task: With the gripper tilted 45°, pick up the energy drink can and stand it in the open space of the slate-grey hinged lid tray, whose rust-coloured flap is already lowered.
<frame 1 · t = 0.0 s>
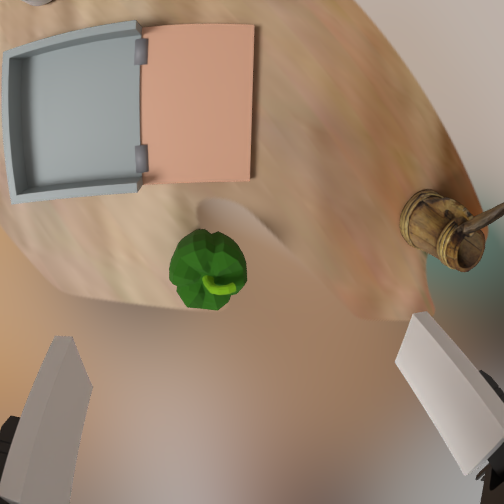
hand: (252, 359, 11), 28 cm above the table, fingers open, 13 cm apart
bell pepper: (206, 250, 40), on the table
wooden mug: (419, 205, 42), on the table
hinged lid tray: (76, 112, 30), on the table
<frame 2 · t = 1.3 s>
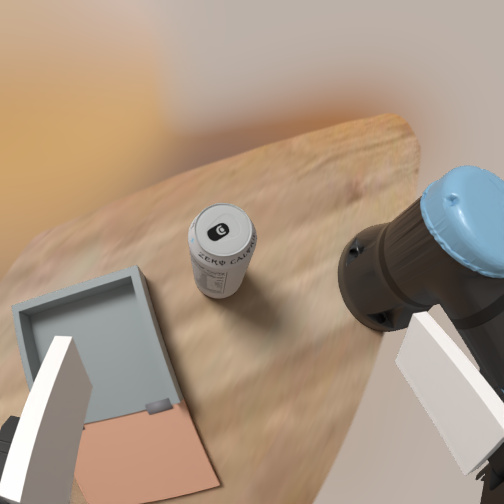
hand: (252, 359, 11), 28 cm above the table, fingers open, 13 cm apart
energy drink can: (218, 276, 41), on the table
hinged lid tray: (96, 354, 35), on the table
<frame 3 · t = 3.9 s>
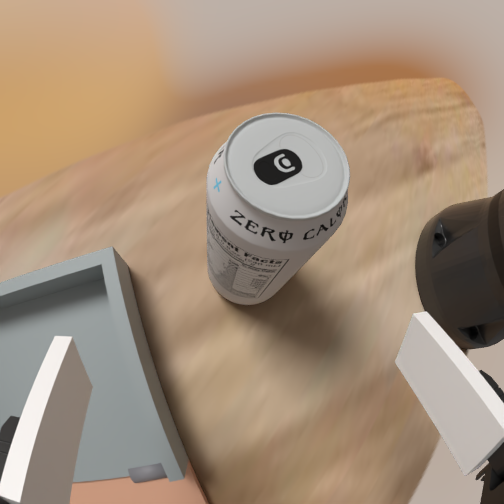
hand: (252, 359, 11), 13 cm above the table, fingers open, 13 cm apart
energy drink can: (245, 269, 26), on the table
hinged lid tray: (54, 386, 20), on the table
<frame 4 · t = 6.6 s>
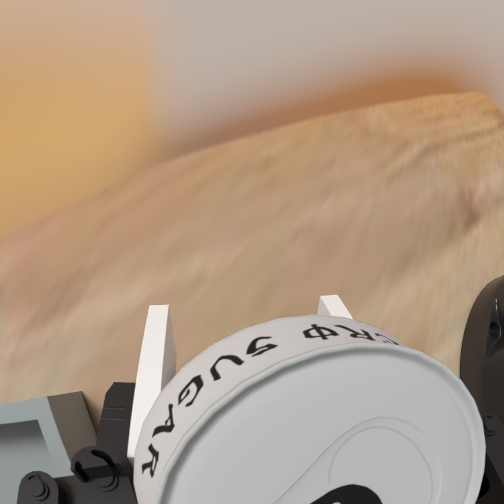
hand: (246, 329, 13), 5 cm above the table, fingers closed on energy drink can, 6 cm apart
energy drink can: (241, 400, 17), on the table, touching gripper
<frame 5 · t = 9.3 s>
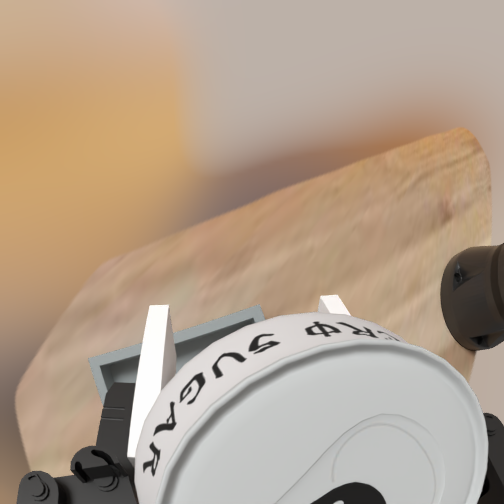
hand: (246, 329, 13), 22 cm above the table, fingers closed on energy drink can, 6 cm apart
energy drink can: (241, 399, 17), point 16 cm above the table, touching gripper
hinged lid tray: (201, 405, 31), on the table
when the fingers open (8 cm above the table, at t = 12.3 s): energy drink can drops 1 cm, resting on hinged lid tray.
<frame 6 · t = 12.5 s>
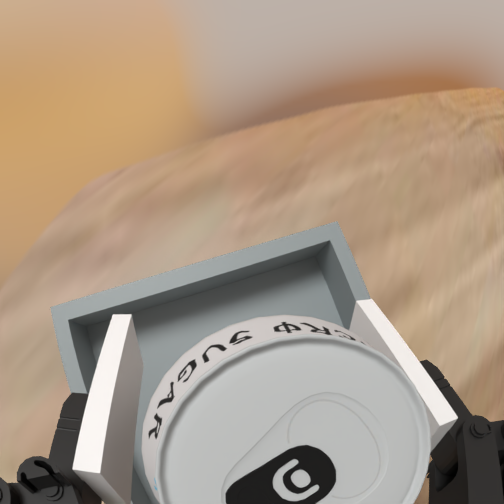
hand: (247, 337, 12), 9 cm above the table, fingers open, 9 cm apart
energy drink can: (241, 398, 18), point 1 cm above the table, touching hinged lid tray
hinged lid tray: (237, 395, 20), on the table
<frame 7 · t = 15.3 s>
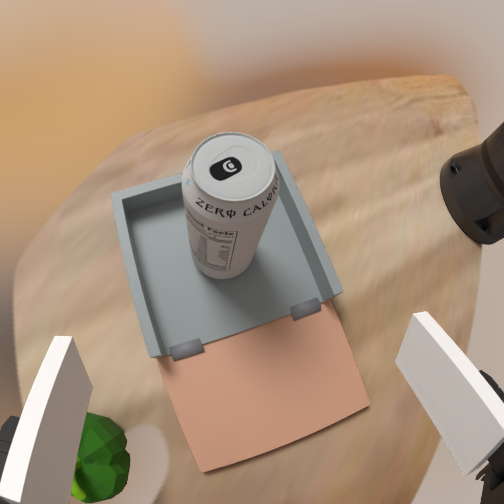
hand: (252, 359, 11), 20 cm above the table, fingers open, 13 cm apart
bell pepper: (101, 443, 25), on the table
energy drink can: (221, 252, 32), point 1 cm above the table, touching hinged lid tray
hinged lid tray: (219, 256, 33), on the table
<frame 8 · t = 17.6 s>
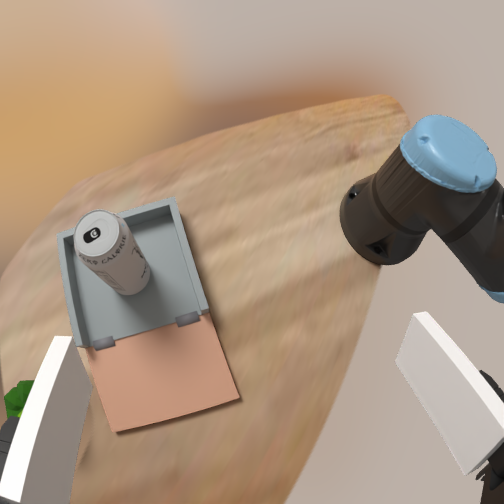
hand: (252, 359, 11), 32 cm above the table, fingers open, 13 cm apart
bell pepper: (51, 407, 35), on the table
energy drink can: (130, 275, 42), point 1 cm above the table, touching hinged lid tray
hinged lid tray: (131, 277, 43), on the table
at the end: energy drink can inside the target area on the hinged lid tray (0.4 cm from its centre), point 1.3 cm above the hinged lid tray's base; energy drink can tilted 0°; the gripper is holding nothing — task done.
